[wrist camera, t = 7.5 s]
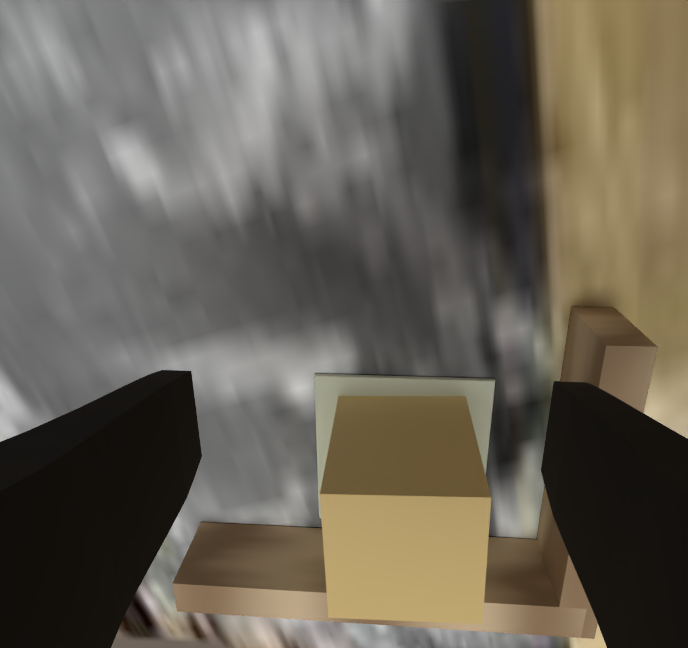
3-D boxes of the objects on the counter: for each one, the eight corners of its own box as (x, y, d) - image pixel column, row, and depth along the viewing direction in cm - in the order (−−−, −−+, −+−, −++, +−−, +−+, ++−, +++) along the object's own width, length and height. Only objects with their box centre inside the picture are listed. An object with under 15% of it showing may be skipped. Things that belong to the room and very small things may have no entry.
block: (465, 396, 21) (491, 497, 16) (461, 500, 23) (482, 624, 18) (338, 395, 22) (319, 494, 16) (343, 497, 24) (328, 617, 18)
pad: (494, 378, 21) (495, 380, 21) (479, 522, 24) (480, 526, 24) (315, 373, 22) (314, 375, 22) (319, 514, 24) (319, 517, 24)
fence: (614, 307, 20) (657, 346, 17) (567, 567, 24) (594, 638, 21) (171, 299, 21) (131, 334, 18) (204, 547, 26) (177, 611, 22)
